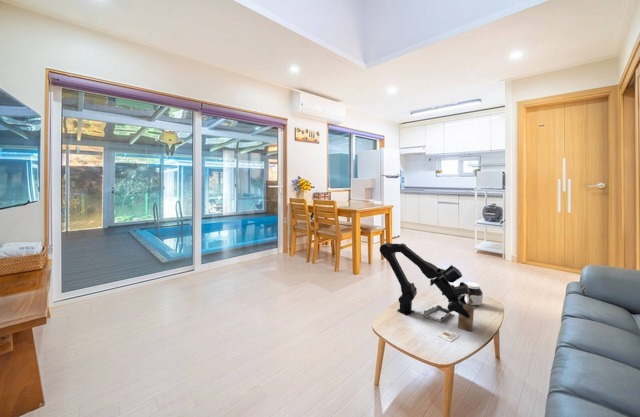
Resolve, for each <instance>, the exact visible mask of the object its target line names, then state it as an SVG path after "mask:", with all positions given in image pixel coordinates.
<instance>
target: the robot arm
mask: <svg viewBox="0 0 640 417" xmlns="http://www.w3.org/2000/svg"><path fill="white" fill-rule="evenodd" d="M379 252H380V254H381V255H382V257H383V258H384V259H386V260H387V262H388V263H389V266H390V267H391V270H392V271H393V273H394V275H395V277H396V279H397V281H398V283H399V285H400V291H401V295H400V296H399V297H398V303H399V308H398V309H397V312H398V313H400V314H402V315H405V316H409V315H412V314H413V313H415V311H414V310H412V308H413V307H412V306H413V300H414V299H415V298H416V296H417V294H418V292H417V290H418V288H416V286H415V284H414V282H410V280H408V278H407V276H406V274H405V273H404V271H403V268H402V266H401V265H400V262H399V261H398V259H397V257H396V253H401V254H402V255H403V256H404V257H406V258H407V259H408V260H409V261H410V262H412V264H414V265H416V266H417V267H418V268H419V270H420V271H421V273H422V274H423V275H424V276H425V277H426V278H427V279H430V280H429V282H430V283H429V284H430V286H433V285H435V286H436V287H437V289H438V290H439V291H440V292H441V295H442V296H444V297H446V299H447V302H448V303H447V310H449V311H450V313H452V312H455V313H456V314H457V313H458V315H459V314H461V315H463V316H465V317H467V318H469V317H470V316H469V315H468V313H467V312H466V310H465V309H464V307H463V304H466V305H467V303H466V301H465V295H463V294H469V288H468V285H467V284H466V283H465V282H463V281H461V282H459V285H457V286H455V285H454V284H452V283H455V282H456V281H458V280H459V279H461V278H462V277H463V274H462V272H461V271H460V269H458V268H457V267H456V266H453V264H451V265H449V266H448V268H446V269H444V268H440V267H437V266H436V265H435V264H434V263H431V262H429V261H427V260H424V259H423V258H422V257H421V256H420V255H418V254H417V253H416V252H415V251H413V250H412V249H411V248H410V247H408V246H407V244H405V243H391V242H385V243H383V244H382V245H380V247H379ZM462 295H463V296H462Z"/></svg>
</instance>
